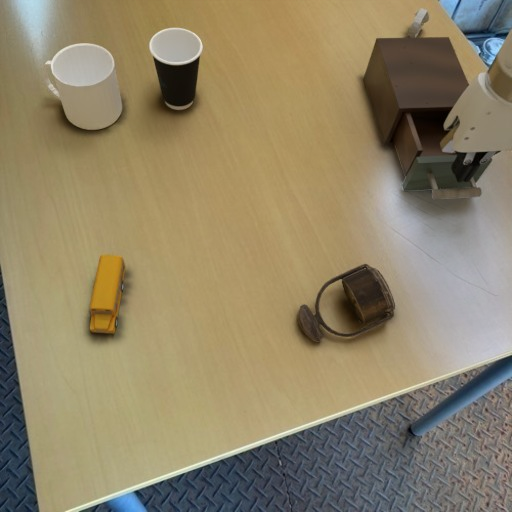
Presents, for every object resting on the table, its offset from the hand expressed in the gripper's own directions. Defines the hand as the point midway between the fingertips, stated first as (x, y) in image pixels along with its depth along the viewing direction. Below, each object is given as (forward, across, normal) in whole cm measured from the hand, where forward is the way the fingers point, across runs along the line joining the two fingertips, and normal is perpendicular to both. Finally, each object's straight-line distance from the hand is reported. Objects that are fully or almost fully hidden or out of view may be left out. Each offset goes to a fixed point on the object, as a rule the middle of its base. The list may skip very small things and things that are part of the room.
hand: (460, 174), depth 79 cm
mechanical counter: (+7, +19, +17) cm, 26 cm away
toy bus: (+7, +50, +13) cm, 52 cm away
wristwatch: (+8, -6, -38) cm, 39 cm away
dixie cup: (+7, +39, -23) cm, 46 cm away
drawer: (+6, 0, -7) cm, 9 cm away
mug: (+7, +54, -22) cm, 59 cm away
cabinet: (+7, 0, -19) cm, 21 cm away
